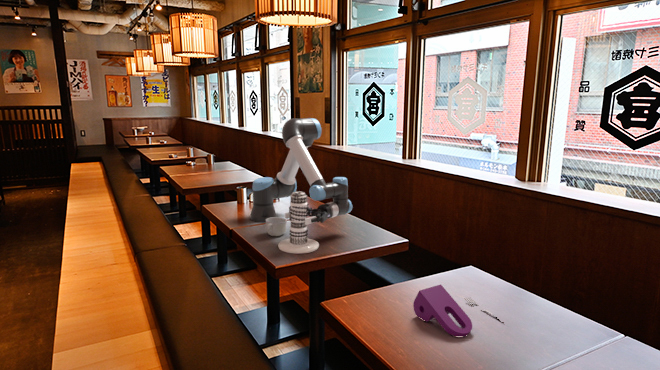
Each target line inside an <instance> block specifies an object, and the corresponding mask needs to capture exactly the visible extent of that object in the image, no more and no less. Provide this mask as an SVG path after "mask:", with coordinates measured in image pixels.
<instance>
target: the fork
mask: <svg viewBox="0 0 660 370" xmlns="http://www.w3.org/2000/svg"><path fill="white" fill-rule="evenodd" d="M464 300H465V302H466V303H468V305H470V304H471V305H472V304H473V303H474V304H476V303H477V302H476V301H474V299H472V297H465V298H464ZM474 304H473V305H474ZM485 310H486V309H485ZM485 312H487V313H489V314H490V315H491V314H494V313H492V312H491V311H489V310H486V311H485Z"/></svg>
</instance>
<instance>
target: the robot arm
mask: <svg viewBox="0 0 660 370" xmlns="http://www.w3.org/2000/svg"><path fill="white" fill-rule="evenodd" d="M321 126H322V125H321V123H320V121H319V120H318V119H317V118H313V117H312V118H311V117H305V118H301V117H300V118H296V117H295V118H290V119H288V120H287V121H286V122H285V123H284V124H283V126H282V130H281V136H282V140H283V143H284V145H285V146H286V148H288V149H289V151H288V153H287V156H286V158H285V161H284V164H283V166H282V168H281V171H279V172H277V174H276V176H275V178H273V177H269V176H265V177H260V178H259V177H258V178H257V179H255V180H253V182H252V208H251V211H250V215H249V217H250V220H251V221H252V222H258V223H259V222H260V223H261V222H262V223H266V219H267V218H270V217H278V216H277V212H276V209H275V206H274V205H275V204H274V200H277V199H283V198H289V197H291V196H290V195H291V194H292V193H293V192H296V191H297V187H298V186H297V179H296V176H297V173H298V171H299V168H300V169H301V171H302V174H303V175H304V177H305V178H306V179H305V180H306V181H307V183H308V184H309V186H310V187H309V190H308V193H309V197H310V198H311V200H313V201H324V200H326V199H332V200H333V201H330V202H327V203H322V204H320V205H318V207H317V208H313V207H309V208H308V209H306V210H307V211H308V213H306V214H308V216H307V217H306V219H305V225H307V226H308V225H310V224H311V225H312V224H314V223H321V224H323V223H324V222H326V221H327V220H328V219H333V218H335V217H338V216H344V215H347V214H349V213H351V211H352V210H353V204H352V201H351V200H350V199H349V198H348V197H349V192H348V191H349V185H348V184H349V183H348V182H349V181H348V178H347V177H345V176H335V177H333V178H332V182H327V183H326V181H325V179H324V178H323V175H322V174H321V172H320V170H319V168H318V167H317V165H316V163H315V161H314V160H313V157H312V156H311V154H310V152H309V149H308V148H310V147H312V146H313V143H314V141H315V140H318V139H320V138H321V136H322V130H323V129H322V127H321ZM289 215H290V213H289V211H288V212H285V213H284V219H286V220H288V219H289V218H290V217H289Z"/></svg>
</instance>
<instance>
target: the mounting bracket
mask: <svg viewBox="0 0 660 370" xmlns="http://www.w3.org/2000/svg"><path fill="white" fill-rule="evenodd" d="M412 305H413V310H414V314H415V315H417V316H418V317H420V318H422V319H423V320H425V321H426V322H425V323H427V322H430V321H433V320H434V319H435V320H436V321H437V322H438V323H439V325H440V326H441V327H442V329H443V330H444V331H445V332H447V334H449V336H450V335H451V336H452V335H453V337H454V336H465V337H467V336H469V335H470V334H471V333H470V332H471V331H472V330H473V322H472V319H470V317H469V315H467V313H466V312H465V311H464V309H462V307H461V306H460V305H459V304H458V302H456V300H455V299H454V298H453V297H452V295H451V294H450V293H449V292H448V291H447V290H446V288H445V287H444V286H443V285H442V284H437V285H434V286H431V287H427V288H424V289H419V290H418V293H417V294H416V296H415V298H414V301H413V304H412ZM450 315H451V316H452V317H453V318H454V320H455V321H456V322H457V323H458V324H459V326H460V327H459V326H458V325H457V324H456V322H455V321H454V320H453V319H452V317H451V316H450ZM417 316H416V317H417ZM418 317H417V318H418ZM466 335H467V336H466Z"/></svg>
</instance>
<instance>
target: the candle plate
mask: <svg viewBox="0 0 660 370" xmlns="http://www.w3.org/2000/svg"><path fill="white" fill-rule="evenodd" d="M307 240H308V242H307V243H308V245H307V246H304V247H293V246H291V245H290V238H285V239H283V240H280V242H278V249H279V250H280V251H282V252H284V253H287V254H295V255H296V254H297V255H300V254H308V253H312V252H313V253H314V252H316V251H318V249H319V247H320V243H319V242H318V241H317V240H314V239H312V238H308V239H307Z"/></svg>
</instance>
